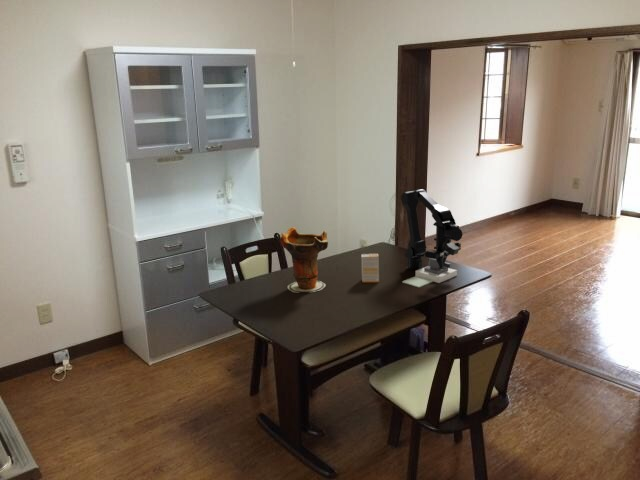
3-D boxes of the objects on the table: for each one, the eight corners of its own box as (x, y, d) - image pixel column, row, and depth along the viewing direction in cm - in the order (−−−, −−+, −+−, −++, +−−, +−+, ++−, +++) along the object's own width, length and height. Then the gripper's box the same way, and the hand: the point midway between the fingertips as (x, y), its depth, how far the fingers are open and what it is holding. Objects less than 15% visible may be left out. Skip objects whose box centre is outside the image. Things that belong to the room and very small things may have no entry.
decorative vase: (328, 294, 244) (322, 234, 237) (279, 295, 249) (272, 236, 242) (336, 279, 264) (331, 223, 256) (290, 280, 268) (284, 225, 261)
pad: (402, 283, 256) (402, 281, 256) (415, 277, 262) (415, 276, 262) (418, 288, 248) (418, 286, 248) (432, 282, 255) (432, 281, 254)
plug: (424, 275, 263) (424, 258, 261) (434, 271, 268) (434, 255, 266) (437, 279, 257) (438, 262, 255) (447, 275, 262) (448, 258, 260)
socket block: (415, 276, 263) (415, 270, 262) (433, 269, 272) (433, 264, 271) (439, 283, 253) (439, 277, 252) (456, 276, 262) (457, 270, 261)
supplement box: (379, 279, 262) (378, 253, 259) (379, 282, 258) (378, 256, 254) (361, 279, 263) (361, 253, 259) (361, 282, 258) (361, 256, 255)
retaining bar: (427, 265, 268) (427, 258, 267) (429, 264, 269) (430, 258, 268) (449, 271, 259) (449, 264, 258) (451, 270, 260) (451, 263, 259)
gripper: (444, 243, 240) (443, 276, 244) (468, 235, 251) (467, 267, 256) (424, 239, 248) (423, 271, 252) (449, 231, 260) (448, 262, 264)
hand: (441, 268), depth 256 cm, fingers closed
